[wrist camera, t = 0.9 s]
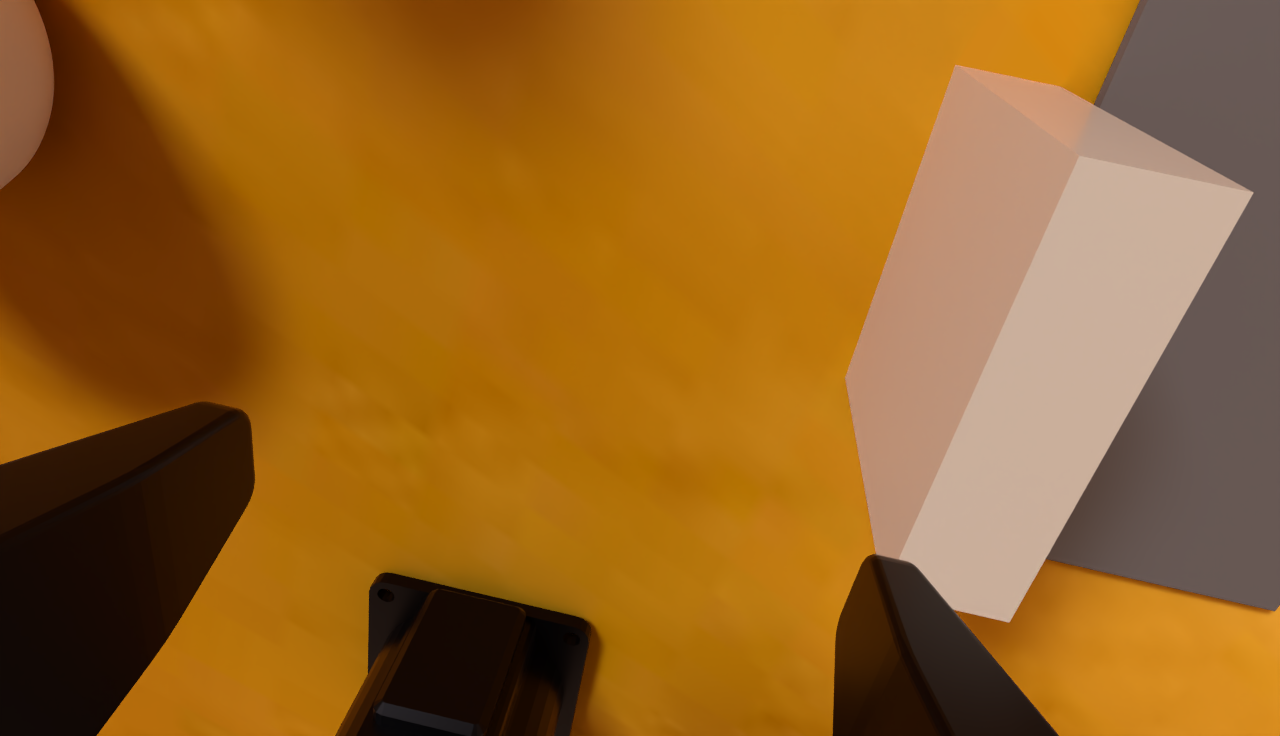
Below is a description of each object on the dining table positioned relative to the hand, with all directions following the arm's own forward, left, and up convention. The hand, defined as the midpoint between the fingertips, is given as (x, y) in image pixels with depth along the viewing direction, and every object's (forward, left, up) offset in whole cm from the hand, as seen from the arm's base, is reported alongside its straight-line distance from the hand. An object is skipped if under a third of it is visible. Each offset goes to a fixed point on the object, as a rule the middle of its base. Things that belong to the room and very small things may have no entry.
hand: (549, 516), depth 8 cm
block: (0, -6, -11) cm, 12 cm away
